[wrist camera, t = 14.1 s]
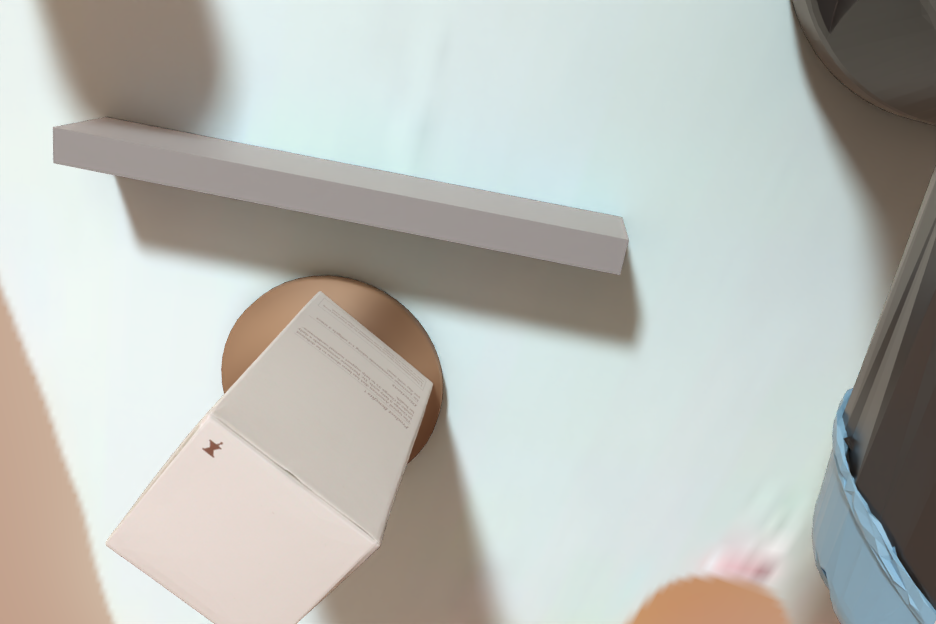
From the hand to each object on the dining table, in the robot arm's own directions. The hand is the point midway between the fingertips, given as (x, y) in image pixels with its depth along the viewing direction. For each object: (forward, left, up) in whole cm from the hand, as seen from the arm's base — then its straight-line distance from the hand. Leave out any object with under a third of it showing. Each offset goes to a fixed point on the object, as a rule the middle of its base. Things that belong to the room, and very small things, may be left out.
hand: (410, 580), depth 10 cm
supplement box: (+3, +13, -26) cm, 29 cm away
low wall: (+6, +4, -27) cm, 28 cm away
